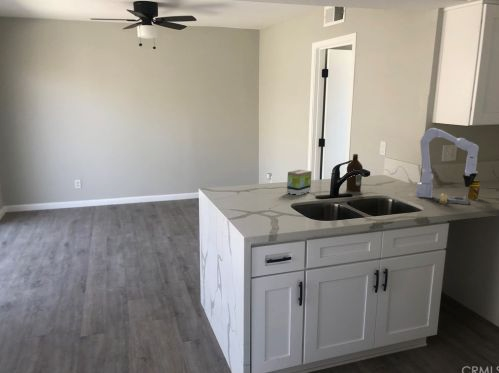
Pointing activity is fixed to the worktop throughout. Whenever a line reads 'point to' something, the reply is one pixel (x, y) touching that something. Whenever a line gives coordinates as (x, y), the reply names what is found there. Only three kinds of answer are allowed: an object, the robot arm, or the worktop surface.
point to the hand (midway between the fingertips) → (468, 185)
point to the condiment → (474, 190)
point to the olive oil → (355, 181)
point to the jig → (454, 199)
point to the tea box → (299, 182)
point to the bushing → (443, 198)
